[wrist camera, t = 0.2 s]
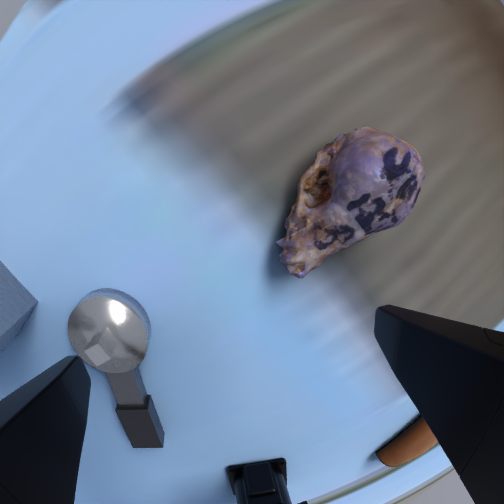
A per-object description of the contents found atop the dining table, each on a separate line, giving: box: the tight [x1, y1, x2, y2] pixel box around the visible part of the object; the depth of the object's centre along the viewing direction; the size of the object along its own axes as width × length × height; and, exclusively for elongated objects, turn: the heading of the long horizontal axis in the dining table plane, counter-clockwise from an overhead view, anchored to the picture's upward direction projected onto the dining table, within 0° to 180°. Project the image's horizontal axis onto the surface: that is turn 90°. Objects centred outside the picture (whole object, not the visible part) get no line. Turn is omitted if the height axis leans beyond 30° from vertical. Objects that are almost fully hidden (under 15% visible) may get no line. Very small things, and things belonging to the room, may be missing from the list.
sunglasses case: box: [375, 416, 438, 467], centre depth 31 cm, size 18×7×7 cm
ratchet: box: [68, 288, 164, 448], centre depth 22 cm, size 16×6×4 cm, turn 5°
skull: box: [276, 127, 425, 278], centre depth 20 cm, size 12×8×6 cm, turn 131°
